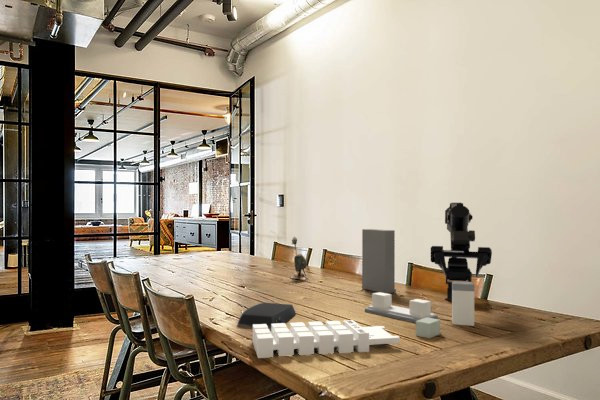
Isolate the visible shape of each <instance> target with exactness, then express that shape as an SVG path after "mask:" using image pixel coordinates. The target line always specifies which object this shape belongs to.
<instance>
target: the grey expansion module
mask: <svg viewBox="0 0 600 400" xmlns="http://www.w3.org/2000/svg"><path fill="white" fill-rule="evenodd" d="M451 281H452V280H451ZM451 322H452V325H458V326H472V327H473V326H475V283H474V282H473V281H471V282H468V281H467V282H463V281H452V301H451Z"/></svg>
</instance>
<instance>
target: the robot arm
mask: <svg viewBox="0 0 600 400" xmlns="http://www.w3.org/2000/svg"><path fill="white" fill-rule="evenodd" d="M472 220H473V215H472V213H471V212H470V210H469V208H468V207H466V206H464V203H463V202H449V206H448V208H446V210H445V211H444V224H446V230H447V231H448V232H449V235H450V237H449V238H450V249H444V246H443V245H432V246H430V262H431V263H434V264H435V265H438V266H439V268H440V269H441V271H442V272H443V274H444V276H445V285H447V289H446V290H447V291H446V292H447V294H446V295H447V296H446V297H445V298H444V300H446V301H449V302H452V281H463V282H472V281H473V280H472V279H473V278H472V276H473V275H472V274H473V272H472V271H471V269H470V268H469V266H468V265H469V264H468V260H467V259H477V260H476V269H475V278H478V277H479V274H480V272H481V270H482V268H483V267H486V266H487V265H490V264H491V262H492V254H493V252H492V248H491V247H487V246H478V247H477V251H470V249H471V242H475V241H476V231H475V230H468V229H469V228H468V226H469V224H470V223H471V221H472ZM445 258H448V261H447V264H446V259H445Z"/></svg>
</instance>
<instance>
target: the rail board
mask: <svg viewBox="0 0 600 400" xmlns="http://www.w3.org/2000/svg"><path fill="white" fill-rule="evenodd" d="M392 294H393V293H381V292H373V293H371V305H367V307H366V308H364V312H365V313H370V314H373V315H374V314H375V315H378V316H383V317H388V318H392V319H397V320H400V321H405V322H410V323H415V324H416V321H417V320H420V319H423V318H427V317H428V318H433V319H439V318H438V317H439V315H438V314H436V313H432V301H431V300H426V299H419V298H415V299H411V300H409V307H408V308H407V307H403V306H398V305H393V304H392V296H393V295H392Z"/></svg>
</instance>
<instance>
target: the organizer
mask: <svg viewBox="0 0 600 400" xmlns="http://www.w3.org/2000/svg"><path fill="white" fill-rule="evenodd" d="M400 340H401V339H400V336H399V335H392V334H390V333H389V332H388V331H386V327H385V326H384V325H375V326H361V325H360V324H358V322H356V321H355V320H353V319H350V320H349V319H347V320H342V323H341V321H339V320H325V324H324V323H323V322H322V321H321V320H320V321H307V326H306V324H305V323H304V322H301V321H300V322H289V328H288V326H287V325H286V323H275V324H271V329H268V326H267V324H253V327H252V345H253V348H254V351H255V353H256V356H257V358H258V359H267V358H269V357H272V358H274V351H276V350H277V351H276V354H277V353H278V354H277V356H278V355H279V356H287V355H295V352H294V351H295V349H297V350H296V353H297V352H298V353H297V355H298V354H299V355H306V356H310V355H309V354H314V355H315V351H316V350H317V351H318V352H317V351H316V352H317V354H322V355H329V354H328V353H334V354H335V350H336V352H337V351H338V352H339V353H338V352H337V353H338V354H352V353H351V352H353V353H354V350H355V351H357V352H358V353H369V352H370V346H371V345H372V346H373V345H385V344H386V345H387V344H389V345H390V344H399V343H400ZM315 348H316V349H315ZM299 355H298V356H299ZM279 356H278V357H279Z"/></svg>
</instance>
